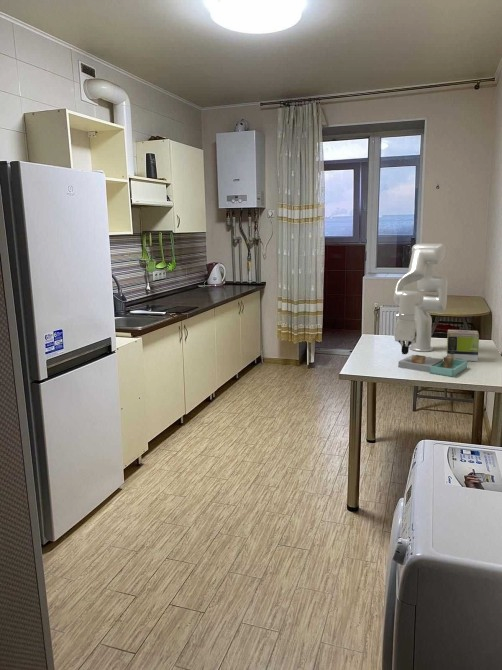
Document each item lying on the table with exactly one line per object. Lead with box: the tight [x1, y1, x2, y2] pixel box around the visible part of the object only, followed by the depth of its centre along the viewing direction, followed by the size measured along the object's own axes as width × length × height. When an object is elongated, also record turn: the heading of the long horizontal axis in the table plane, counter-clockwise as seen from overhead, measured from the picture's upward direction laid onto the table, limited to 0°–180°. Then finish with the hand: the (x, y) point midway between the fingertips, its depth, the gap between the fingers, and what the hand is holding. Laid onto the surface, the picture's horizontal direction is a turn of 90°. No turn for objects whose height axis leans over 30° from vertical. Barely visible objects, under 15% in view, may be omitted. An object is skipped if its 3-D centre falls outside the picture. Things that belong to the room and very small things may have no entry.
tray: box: [429, 359, 469, 378], centre depth 250 cm, size 11×20×4 cm, turn 140°
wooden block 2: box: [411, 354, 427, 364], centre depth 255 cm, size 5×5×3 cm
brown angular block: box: [443, 355, 453, 368], centre depth 254 cm, size 5×5×3 cm
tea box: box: [446, 329, 480, 362], centre depth 271 cm, size 15×10×15 cm
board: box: [398, 354, 444, 373], centre depth 259 cm, size 16×17×3 cm
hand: (404, 353), depth 258 cm, fingers closed
